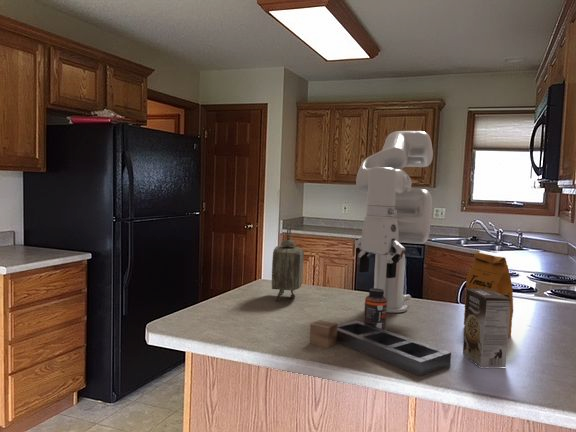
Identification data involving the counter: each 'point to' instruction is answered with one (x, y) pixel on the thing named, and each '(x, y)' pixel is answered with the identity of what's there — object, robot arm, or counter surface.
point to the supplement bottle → (375, 308)
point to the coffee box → (486, 327)
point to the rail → (393, 348)
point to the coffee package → (491, 278)
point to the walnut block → (323, 333)
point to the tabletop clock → (287, 266)
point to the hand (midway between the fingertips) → (377, 274)
